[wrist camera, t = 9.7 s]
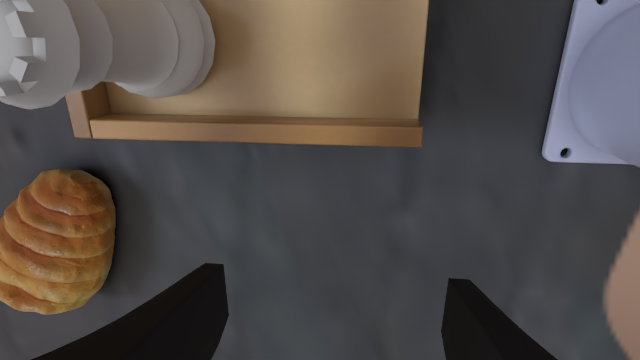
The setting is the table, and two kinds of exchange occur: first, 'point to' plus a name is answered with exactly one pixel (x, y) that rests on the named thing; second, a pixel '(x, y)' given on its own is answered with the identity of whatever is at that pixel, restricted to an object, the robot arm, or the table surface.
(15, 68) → the rook chess piece
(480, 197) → the table surface
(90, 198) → the pastry
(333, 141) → the wooden tray
